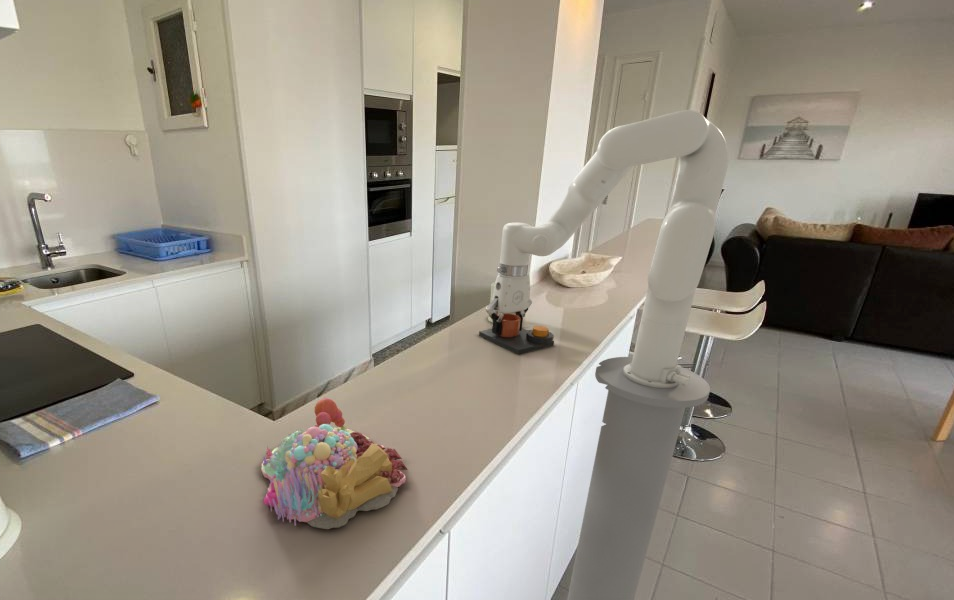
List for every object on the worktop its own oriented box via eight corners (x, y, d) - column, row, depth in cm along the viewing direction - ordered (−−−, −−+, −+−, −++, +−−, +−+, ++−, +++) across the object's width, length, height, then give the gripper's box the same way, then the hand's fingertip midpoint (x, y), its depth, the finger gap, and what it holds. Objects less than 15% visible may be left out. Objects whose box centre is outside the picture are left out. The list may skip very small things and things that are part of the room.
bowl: (524, 335, 135) (525, 318, 133) (505, 339, 131) (507, 322, 130) (507, 328, 140) (508, 312, 138) (489, 332, 137) (490, 315, 135)
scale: (557, 345, 131) (558, 335, 130) (519, 355, 125) (520, 344, 124) (515, 327, 144) (516, 318, 143) (478, 335, 138) (479, 326, 137)
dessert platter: (432, 472, 79) (434, 424, 76) (329, 558, 63) (326, 501, 59) (328, 421, 94) (325, 379, 91) (222, 480, 78) (215, 431, 74)
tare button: (550, 336, 131) (551, 329, 130) (540, 338, 129) (541, 331, 128) (539, 331, 134) (540, 324, 133) (529, 334, 132) (530, 327, 131)
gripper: (497, 276, 122) (491, 341, 129) (547, 269, 130) (538, 330, 136) (479, 270, 128) (474, 332, 135) (526, 263, 136) (520, 323, 142)
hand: (506, 331), depth 135 cm, fingers closed on bowl, 6 cm apart
